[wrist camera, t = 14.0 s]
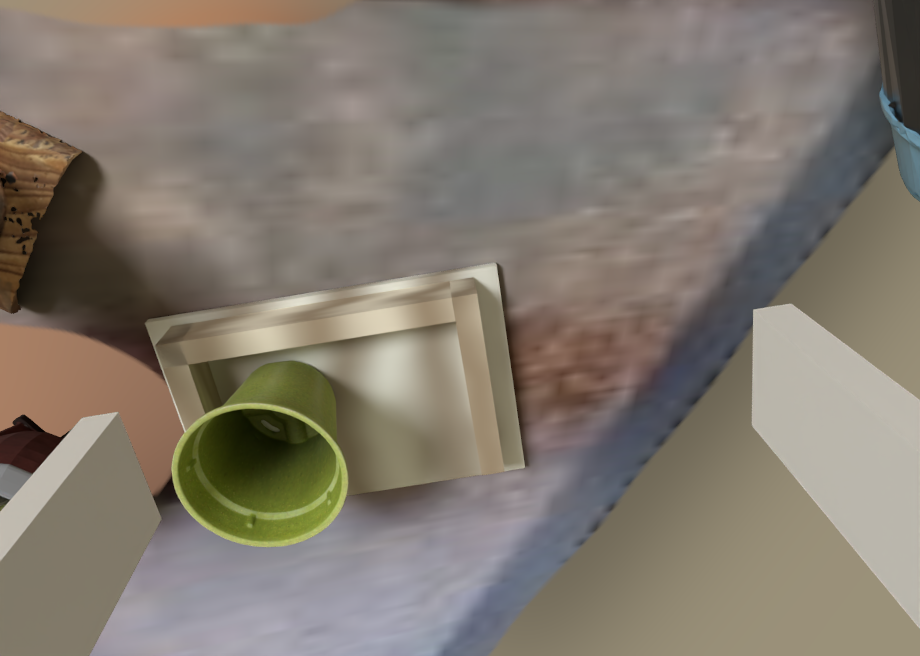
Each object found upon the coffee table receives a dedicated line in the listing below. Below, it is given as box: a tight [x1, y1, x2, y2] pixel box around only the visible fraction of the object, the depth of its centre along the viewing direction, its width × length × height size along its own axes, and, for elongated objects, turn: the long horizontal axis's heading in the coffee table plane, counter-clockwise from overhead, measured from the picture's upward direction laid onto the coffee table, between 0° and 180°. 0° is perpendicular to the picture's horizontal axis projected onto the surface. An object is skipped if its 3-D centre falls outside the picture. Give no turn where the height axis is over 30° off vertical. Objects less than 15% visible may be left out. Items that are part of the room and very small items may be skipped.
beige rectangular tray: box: [145, 263, 525, 496], centre depth 45 cm, size 22×15×4 cm
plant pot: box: [172, 361, 349, 547], centre depth 42 cm, size 9×9×9 cm
